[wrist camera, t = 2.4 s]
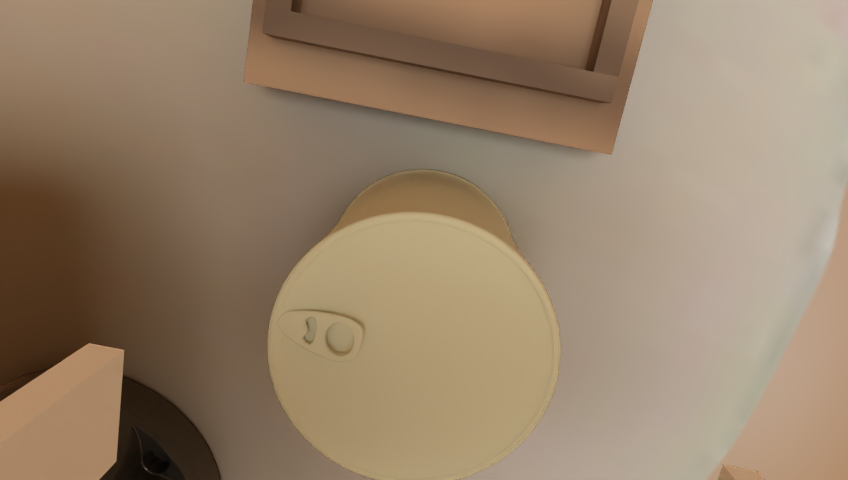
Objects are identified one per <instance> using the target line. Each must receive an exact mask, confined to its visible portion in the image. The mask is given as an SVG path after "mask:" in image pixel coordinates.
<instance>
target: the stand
mask: <svg viewBox="0 0 848 480" xmlns="http://www.w3.org/2000/svg"><path fill="white" fill-rule="evenodd" d="M652 2H653V0H253V5H252V14H251V23H250V32H249V40H248V49H247V58H246V67H245V76H244V82H246V83H251V84H256V85H261V86H266V87H271V88H276V89H281V90H286V91H292V92H297V93H302V94H307V95H312V96H317V97H322V98H327V99H332V100H337V101H342V102H347V103H352V104H357V105H362V106H367V107H372V108H377V109H382V110H388V111H393V112H398V113H403V114H408V115H413V116H418V117H423V118H428V119H433V120H438V121H443V122H448V123H453V124H458V125H463V126H468V127H473V128H478V129H483V130H489V131H494V132H499V133H504V134H509V135H514V136H519V137H524V138H529V139H534V140H539V141H544V142H549V143H554V144H559V145H564V146H569V147H574V148H579V149H585V150H590V151H595V152H600V153H605V154H610V155H611V154H612V151H613V147H614V143H615V140H616V136H617V132H618V128H619V125H620V121H621V117H622V114H623V110H624V106H625V102H626V99H627V95H628V91H629V88H630V84H631V80H632V77H633V73H634V69H635V65H636V62H637V58H638V54H639V51H640V47H641V43H642V39H643V36H644V32H645V28H646V25H647V21H648V17H649V13H650V10H651V6H652Z"/></svg>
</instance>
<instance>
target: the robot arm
mask: <svg viewBox="0 0 848 480" xmlns="http://www.w3.org/2000/svg"><path fill="white" fill-rule="evenodd" d="M123 362H124V350H122V349H117V348H112V347H107V346H101V345H96V344H91V343H88V344H87V345H85V346H84V347H82V348H81V349H79V350H78V351H76V352H75V353H73V354H72V355H70V356H69V357H67V358H66V359H64V360H63V361H61V362H60V363H58V364H57V365H55V366H53V367H52V368H50V369H49V370H43V371H38V372H35V373H31V374H28V375H25V376H22V377H20V378H17V379H15V380H13V381H11V382H9V383H7V384H6V385H4V386H2V387H1V388H0V480H220V477H219V474H218V470H217V467H216V464H215V462H214V459H213V457H212V455H211V453H210V451H209V449H208V447H207V445H206V443H205V442H204V440H203V439H202V437H201V436H200V434H199V433H198V432H197V430H196V429H195V428H194V426H193V425H192V424H191V423H190V422H189V421H188V420H187V418H186V417H185V416H184V415H183V414H182V413H181V412H179V411H178V410H177V409H176V408H175V407H174V406H173V405H171V404H170V403H169V402H168V401H166V400H165V399H163V398H162V397H161V396H159V395H158V394H156V393H154V392H153V391H151V390H149V389H148V388H146V387H144V386H142V385H140V384H138V383H136V382H133V381H131V380H129V379H126V378H123V377H122V376H123ZM718 480H765V479H764V478H763V477H762V476H761V474H760V473H759V472H758V471H753V470H749V469H744V468H738V467H733V466H728V465H723V467H722V469H721V472H720V475H719V477H718Z"/></svg>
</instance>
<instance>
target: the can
mask: <svg viewBox="0 0 848 480" xmlns="http://www.w3.org/2000/svg"><path fill="white" fill-rule="evenodd" d="M267 357H268V366H269V370H270V375H271V379H272V384H273V386H274V389H275V392H276V394H277V397H278V399H279V401H280V403H281V406H282V407H283V409H284V411H285V413H286V414H287V416H288V418H289V419H290V421H291V422H292V423H293V425H294V426H295V428H296V429H297V430H298V431H299V432H300V433H301V435H302V436H303V437H304V438H305V439H306V440H307V441H308V442H309V443H310V444H311V445H312V446H313V447H314V448H316V449H317V450H318V451H319V452H321V453H322V454H323V455H325V456H326V457H327V458H329V459H330V460H332V461H334V462H335V463H337V464H339V465H340V466H342V467H344V468H346V469H348V470H350V471H353V472H355V473H358V474H360V475H362V476H365V477H369V478H372V479H376V480H457V479H461V478H463V477H466V476H469V475H472V474H474V473H477V472H479V471H481V470H484V469H485V468H487V467H489V466H491V465H493V464H495V463H496V462H498V461H499V460H501V459H502V458H503V457H505V456H506V455H508V454H509V453H510V452H512V451H513V450H514V449H515V448H516V447H517V446H518V445H519V444H520V443H522V442H523V441H524V439H525V438H526V437H527V436H528V435H529V434H530V433H531V432H532V430H533V429H534V428H535V426H536V425H537V423H538V422H539V420H540V419H541V417H542V416H543V414H544V412H545V410H546V408H547V406H548V404H549V402H550V400H551V398H552V395H553V392H554V389H555V386H556V382H557V378H558V374H559V367H560V358H561V345H560V333H559V327H558V322H557V318H556V314H555V311H554V308H553V305H552V303H551V300H550V298H549V295H548V293H547V291H546V289H545V287H544V286H543V284H542V282H541V281H540V279H539V277H538V276H537V275H536V273H535V272H534V270H533V269H532V268H531V266H530V265H529V264H528V263H527V262H526V261H525V260H524V258H523V257H522V255H521V254H520V252H519V251H518V249H517V247H516V245H515V244H514V242H513V240H512V237H511V233H510V230H509V228H508V225H507V223H506V221H505V219H504V217H503V215H502V213H501V212H500V210H499V209H498V207H497V206H496V204H495V203H494V202H493V201H492V200H491V199H490V198H489V197H488V196H487V195H486V194H485V193H484V192H483V191H482V190H480V189H479V188H478V187H477V186H475V185H473V184H472V183H470V182H469V181H467V180H465V179H463V178H461V177H458V176H456V175H453V174H450V173H447V172H442V171H437V170H428V169H417V170H408V171H402V172H398V173H395V174H392V175H389V176H386V177H384V178H382V179H380V180H378V181H376V182H375V183H373V184H371V185H370V186H368V187H367V188H366V189H364V190H363V191H362V192H361V193H360V194H359V195H358V196H357V197H356V198H355V199H354V200H353V201H352V202H351V204H350V205H349V206H348V208H347V209H346V211H345V212H344V214H343V215H342V217H341V219H340V222H339V223H338V224H337V225H336V226H335V227H334V229H333V230H332V231H331V232H330V233H329V234H328V235H327V236H326V237H325V238H324V239H323V240H321V241H320V242H319V243H317V244H316V245H315V246H314V247H313V248H312V249H311V250H310V251H308V252H307V253H306V254H305V255H304V256H303V258H302V259H301V260H300V261H299V262H298V263H297V264H296V266H295V267H294V268H293V269H292V271H291V272H290V274H289V275H288V277H287V278H286V280H285V282H284V283H283V285H282V287H281V289H280V291H279V293H278V296H277V298H276V301H275V304H274V306H273V309H272V313H271V317H270V322H269V328H268V336H267Z"/></svg>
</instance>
